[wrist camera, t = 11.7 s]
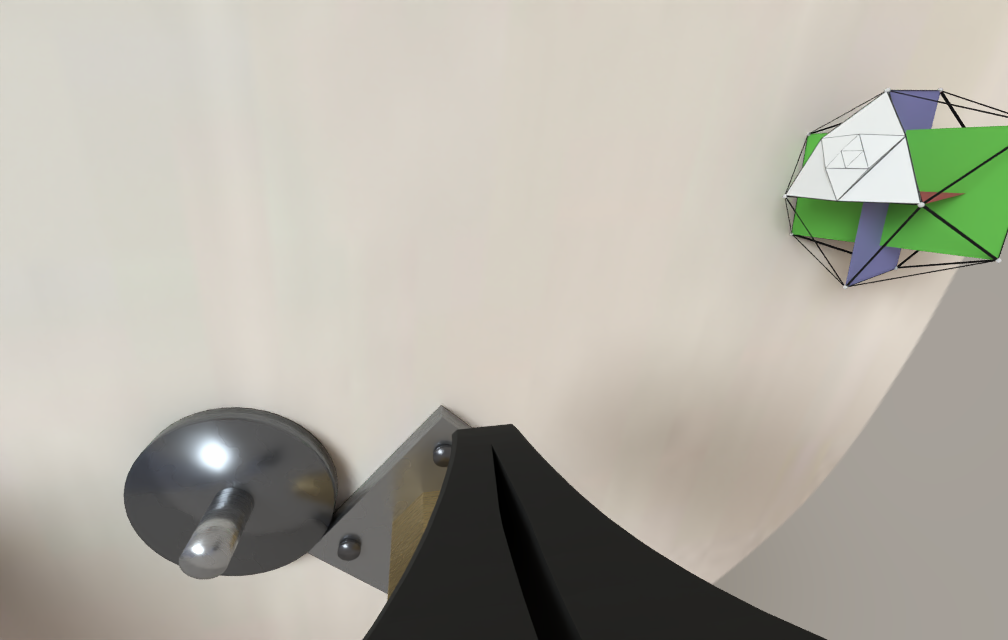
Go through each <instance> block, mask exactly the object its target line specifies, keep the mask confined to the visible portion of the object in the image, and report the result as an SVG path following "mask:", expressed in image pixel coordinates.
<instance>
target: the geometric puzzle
mask: <svg viewBox="0 0 1008 640" xmlns="http://www.w3.org/2000/svg"><path fill="white" fill-rule="evenodd" d="M943 92H944V93H947V94H950V95H953V96H956V97H959V98H962V99H965V100H968V101H971V102H974V103H977V104H980V105H983V106H986V107H989V108H992V109H995V110H998V111H1001V112H1004V113H1007V114H1008V112H1005V111H1002V110H999V109H996V108H993V107H990V106H987V105H984V104H981V103H978V102H975V101H972V100H969V99H966V98H963V97H960V96H957V95H954V94H951V93H948V92H945V91H943V88H939V89H938V90H891V89H890V88H886V89H885V90H884V92H883V93H881V95H880V94H879V95H880V96H879V95H877V96H878V97H877V96H876V97H877V98H876V99H874V100H873V101H872V102H870V103H869V104H867V105H866V106H865V107H863V108H862V109H861V110H859V111H858V112H856V113H855V114H854V115H852V116H851V117H850V118H848V119H847V120H846V121H844V122H843V123H840V124H837V125H834V126H831V127H828V128H825V129H821V130H818V131H816V130H817V129H816V130H814V131H815V132H814V131H813V132H811V133H810V132H808V133H807V138H806V140H807V142H806V141H805V142H806V148H805V155H804V161H803V167H802V169H801V171H800V172H799V174H798V175H797V177H796V179H795V180H794V182H793V183H792V185H791V186H790V188H789V190H788V188H787V190H788V191H786V192H787V193H785V194H784V195H783V198H785V201H786V199H787V197H797V203H796V209H795V210H794V208H793V207H792V205H791V204H790V202H789V200H788V199H787V201H788V202H789V204H790V205H791V207H792V208H793V210H794V212H795V215H794V221H793V227H792V231H791V233H790V234H789V235H790V236H794V237H795V236H797V237H800V238H803V239H807V240H810V241H813V242H815V243H816V245H817V246H818V244H817V243H819V244H822V245H825V246H828V247H831V248H834V249H837V250H840V251H843V252H846V253H849V254H852V258H851V262H850V267H849V272H848V276H847V281H846V285H844V284H843V282H842V281H841V279H840V278H839V276H838V275H837V273H836V272H835V270H834V269H833V267H832V266H831V264H830V263H829V261H828V259H827V258H826V256H825V255H824V253H823V252H822V250H821V249H820V247H819V246H818V248H819V249H820V251H821V252H822V254H823V255H824V257H825V258H826V260H827V261H828V263H829V264H830V266H831V267H832V269H833V270H834V272H835V274H836V275H837V277H838V278H839V280H840V281H841V282H840V281H839V280H838V279H837V278H836V277H835V276H834V275H833V274H832V273H831V272H830V271H829V270H828V269H827V268H826V267H825V266H824V265H823V264H822V263H821V262H820V261H819V260H818V259H817V258H816V257H815V256H814V255H813V254H812V253H811V252H810V251H809V250H808V249H807V248H806V247H805V246H804V245H803V244H802V243H801V242H800V241H799V240H798V239H797V238H796V237H795V238H796V239H797V240H798V241H799V242H800V243H801V244H802V245H803V246H804V247H805V248H806V249H807V250H808V251H809V252H810V253H811V254H812V255H813V256H814V257H815V258H816V259H817V260H818V261H819V262H820V263H821V264H822V265H823V266H824V267H825V268H826V269H827V270H828V271H829V272H830V273H831V274H832V275H833V276H834V277H835V278H836V279H837V280H838V281H839V282H840V283H841V284H842V285H843V289H847V288H848V287H851V285H852V286H857V285H862V284H857V283H859V282H862V281H865V280H867V279H870V278H873V277H875V276H878V275H881V274H883V273H886V272H888V271H891V270H897V269H898V268H909V267H922V266H936V265H949V264H963V263H976V262H982V263H987V262H993V261H995V262H996V263H1000V262H1001V261H1002V260H1001V259H1000V258H999V257H1000V254H1001V251H1002V248H1003V245H1004V242H1005V238H1006V236H1007V232H1008V126H990V127H965V125H964V124H963V122H962V121H961V119H960V118H959V116H958V115H957V113H956V111H955V110H954V108H953V107H952V106H957V107H961V108H966V109H970V110H975V111H979V112H984V113H988V114H993V115H997V116H1002V117H1006V118H1008V116H1004V115H999V114H995V113H990V112H986V111H981V110H977V109H972V108H968V107H963V106H959V105H954V104H950V102H949V101H948V99H947V98H946V96H945V94H944V93H943ZM940 94H941V96H942V97H943V99H944V100H945V102H946V103H945V102H941V101H938V99H939V95H940ZM874 98H875V97H874ZM872 99H873V98H872ZM870 100H871V99H870ZM870 100H868V101H870ZM868 101H867V102H868ZM938 102H939V103H943V104H947V105H948V106H949V108H950V109H951V111H952V113H953V114H954V116H955V117H956V119H957V120H958V122H959V123H960V125H961V127H962V128H942V129H931V127H932V123H933V119H934V115H935V111H936V107H937V103H938ZM865 103H866V102H865ZM863 104H864V103H863ZM861 105H862V104H861ZM861 105H859V106H861ZM859 106H858V107H859ZM856 108H857V107H856ZM854 109H855V108H854ZM852 110H853V109H852ZM852 110H850V111H852ZM850 111H849V112H850ZM847 113H848V112H847ZM845 114H846V113H845ZM843 115H844V114H843ZM843 115H841V116H843ZM841 116H840V117H841ZM838 118H839V117H838ZM836 119H837V118H836ZM834 120H835V119H834ZM834 120H832V121H834ZM832 121H831V122H832ZM829 123H830V122H829ZM827 124H828V123H827ZM825 125H826V124H825ZM825 125H823V126H825ZM838 125H839V126H838ZM823 126H822V127H823ZM835 126H837V127H836V128H835V129H833V130H832V131H830V132H829V133H822V134H813V133H816V132H819V131H823V130H826V129H829V128H832V127H835ZM820 128H821V127H820ZM818 129H819V128H818ZM804 145H805V143H804ZM803 148H804V146H803ZM802 150H803V149H802ZM801 153H802V151H801ZM800 156H801V154H800ZM800 156H799V158H800ZM798 161H799V159H798ZM797 164H798V162H797ZM797 164H796V166H797ZM795 169H796V167H795ZM794 171H795V170H794ZM793 174H794V172H793ZM792 177H793V175H792ZM792 177H791V179H792ZM790 182H791V180H790ZM789 185H790V183H789ZM789 185H788V187H789ZM786 207H787V203H786ZM787 212H788V209H787ZM788 218H789V214H788ZM789 223H790V220H789ZM790 228H791V225H790ZM800 235H802V236H800ZM804 236H810V237H812V239H810V238H807V237H804ZM813 237H818V238H825V239H833V240H841V241H849V242H855V244H854V248H853V252H850V251H847V250H844V249H841V248H837V247H834V246H831V245H828V244H825V243H822V242H819V241H816V240H814V238H813ZM901 248H904V249H911V250H917V251H915V252H914V253H913V254H912V255H910V256H909V257H908V258H907V259H905V260H904V261H903V262H902V263H900V264H899V265H898V266H897V263H898V259H899V255H900V251H901ZM918 251H927V252H935V253H943V254H950V255H958V256H966V257H974V258H982V259H990V260H981V261H968V262H955V263H942V264H929V265H916V266H903V267H900V266H901V265H902V264H903V263H905V262H906V261H907V260H908V259H910V258H911V257H912V256H913V255H915V254H916V253H917V252H918ZM982 263H977V264H982ZM971 265H975V264H971ZM965 266H970V265H965ZM965 266H959V267H965ZM959 267H954V268H959ZM948 269H953V268H948ZM948 269H942V270H948ZM942 270H937V271H942ZM931 272H936V271H931ZM931 272H925V273H931ZM925 273H920V274H925ZM914 275H919V274H914ZM914 275H908V276H914ZM908 276H903V277H908ZM897 278H902V277H897ZM891 279H896V278H891ZM891 279H886V280H891ZM880 281H885V280H880ZM874 282H879V281H874ZM874 282H869V283H874ZM854 284H857V285H854ZM863 284H868V283H863Z"/></svg>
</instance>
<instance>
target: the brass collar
mask: <svg viewBox="0 0 1008 640" xmlns="http://www.w3.org/2000/svg"><path fill="white" fill-rule="evenodd" d="M439 494H440V490H439V491H431V492H423V493H422V494H421V495H420V496H419V497H418V498H417V499H416V500H415V501H414V502H413V503H412V504H411V505H410V506H409V507H408V508H407V509H406V510H405V511H404V512H403V513H402V514H401V515H400V516H399V517H398V518H397V519H396V520H394V521H393V523H392V538H391V554H390V570H389V585H388V599H389V598H390V596H391V594H392V593H393V591H394V589H395V587H396V586H397V584H398V582H399V580H400V579H401V577H402V575H403V573H404V572H405V570H406V568H407V566H408V564H409V562H410V560H411V558H412V556H413V554H414V552H415V550H416V548H417V546H418V544H419V542H420V540H421V538H422V535H423V533H424V531H425V529H426V527H427V524H428V522H429V519H430V517H431V514H432V512H433V509H434V507H435V504H436V502H437V499H438V496H439Z"/></svg>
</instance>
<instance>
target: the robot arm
mask: <svg viewBox="0 0 1008 640" xmlns="http://www.w3.org/2000/svg"><path fill="white" fill-rule="evenodd" d="M363 640H827V639H824V638H822V637H820V636H818V635H816V634H813V633H811V632H809V631H806V630H804V629H802V628H800V627H798V626H795V625H793V624H791V623H789V622H786V621H784V620H782V619H780V618H777V617H775V616H773V615H770V614H768V613H766V612H764V611H762V610H760V609H758V608H756V607H754V606H752V605H750V604H748V603H746V602H744V601H742V600H740V599H738V598H737V597H735V596H732V595H731V594H729V593H727V592H725V591H723V590H721V589H719V588H717V587H715V586H714V585H712V584H710V583H708V582H706V581H705V580H703V579H701V578H699V577H697V576H696V575H694V574H692V573H690V572H689V571H687V570H685V569H684V568H682V567H681V566H679V565H677V564H676V563H674V562H672V561H671V560H669V559H667V558H666V557H664V556H663V555H661V554H659V553H658V552H656V551H655V550H653V549H652V548H650V547H649V546H647V545H646V544H644V543H643V542H641V541H640V540H638V539H637V538H635V537H634V536H633V535H631V534H630V533H628V532H627V531H626V530H624V529H623V528H622V527H620V526H619V525H617V524H616V523H615V522H613V521H612V520H611V519H609V518H608V517H607V516H606V515H604V514H603V513H602V512H601V511H599V510H598V509H597V508H596V507H595V506H594V505H592V504H591V503H590V502H589V501H588V500H587V499H585V498H584V497H583V496H582V495H581V494H580V493H579V492H578V491H576V490H575V489H574V488H573V487H572V486H571V485H570V484H569V483H568V482H567V481H566V480H565V479H564V478H563V477H562V476H561V475H560V474H559V473H558V472H557V471H556V470H555V469H554V468H553V467H551V465H550V464H549V463H548V462H547V461H546V460H545V459H544V458H543V457H542V456H541V455H540V454H539V453H538V452H537V451H536V450H535V449H534V447H533V446H532V445H531V444H530V443H529V442H528V441H527V440H526V438H525V437H524V436H523V435H522V434H521V433H520V431H519V430H518V429H517V428H516V427H515V426H514V425H513V424H507V425H497V426H487V427H477V428H468V429H458V430H456V431H455V432H454V433H453V434H452V448H451V454H450V459H449V463H448V467H447V471H446V474H445V478H444V481H443V484H442V487H441V490H440V494H439V496H438V499H437V502H436V504H435V507H434V509H433V512H432V514H431V517H430V519H429V522H428V524H427V527H426V529H425V531H424V533H423V535H422V538H421V540H420V542H419V544H418V546H417V548H416V550H415V552H414V554H413V556H412V558H411V560H410V562H409V564H408V566H407V568H406V570H405V572H404V573H403V575H402V577H401V579H400V580H399V582H398V584H397V586H396V587H395V589H394V591H393V593H392V594H391V596H390V598H389V599H388V601H387V603H386V605H385V606H384V608H383V609H382V611H381V613H380V614H379V616H378V617H377V619H376V621H375V622H374V624H373V625H372V627H371V628H370V630H369V631H368V633H367V634H366V635H365V637H364V638H363Z"/></svg>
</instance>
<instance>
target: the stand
mask: <svg viewBox="0 0 1008 640" xmlns="http://www.w3.org/2000/svg"><path fill="white" fill-rule="evenodd" d="M337 489H338V482H337V474H336V470H335V467H334V464H333V462H332V459H331V457H330V456H329V454H328V452H327V451H326V449H325V448H324V447H323V446H322V444H321V443H320V442H319V441H318V440H317V439H316V438H315V437H314V436H313V435H312V434H311V433H310V432H308V431H307V430H305V429H304V428H303V427H301V426H300V425H298V424H296V423H294V422H292V421H290V420H289V419H286V418H284V417H281V416H279V415H276V414H273V413H269V412H266V411H261V410H256V409H250V408H219V409H212V410H206V411H203V412H199V413H195V414H192V415H190V416H187V417H185V418H182V419H180V420H179V421H177V422H175V423H173V424H171V425H170V426H169V427H167V428H166V429H164V430H163V431H162V432H161V433H160V434H159V435H158V436H157V437H156V438H155V439H154V440H153V441H152V442H151V443H150V444H149V445H148V446H147V447H146V449H145V450H144V451H143V452H142V453H141V454H140V455H139V457H138V458H137V459H136V461H135V462H134V463H133V465H132V467H131V469H130V471H129V473H128V476H127V479H126V482H125V488H124V504H125V509H126V513H127V516H128V518H129V521H130V523H131V525H132V527H133V528H134V530H135V531H136V533H137V534H138V536H139V537H140V538H141V539H142V540H143V541H144V542H145V543H146V544H147V545H148V546H149V547H150V548H151V549H152V550H154V551H155V552H156V553H158V554H159V555H161V556H162V557H164V558H165V559H167V560H169V561H171V562H173V563H175V564H177V565H179V566H180V568H181V570H182V571H183V572H184V573H185V574H187V575H188V576H190V577H193V578H196V579H211V578H215V577H217V576H219V575H222V576H244V575H253V574H258V573H264V572H267V571H271V570H274V569H277V568H280V567H282V566H285V565H287V564H289V563H291V562H293V561H295V560H297V559H298V558H300V557H301V556H303V555H304V554H306V553H307V552H308V551H309V550H310V549H311V548H313V547H314V546H315V545H316V544H317V542H318V541H319V540H320V539H321V538H322V536H323V535H324V533H325V532H326V530H327V528H328V526H329V524H330V521H331V518H332V514H333V510H334V506H335V502H336V497H337Z"/></svg>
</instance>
